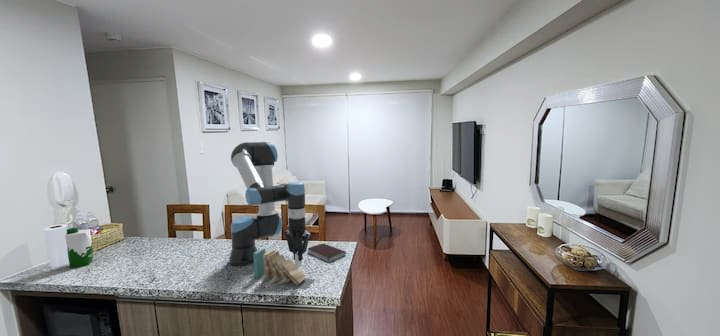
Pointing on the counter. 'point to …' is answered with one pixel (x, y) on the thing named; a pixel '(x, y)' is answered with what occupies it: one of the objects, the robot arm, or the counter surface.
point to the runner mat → (302, 285)
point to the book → (326, 252)
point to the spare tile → (258, 263)
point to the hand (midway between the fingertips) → (298, 266)
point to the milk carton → (79, 247)
